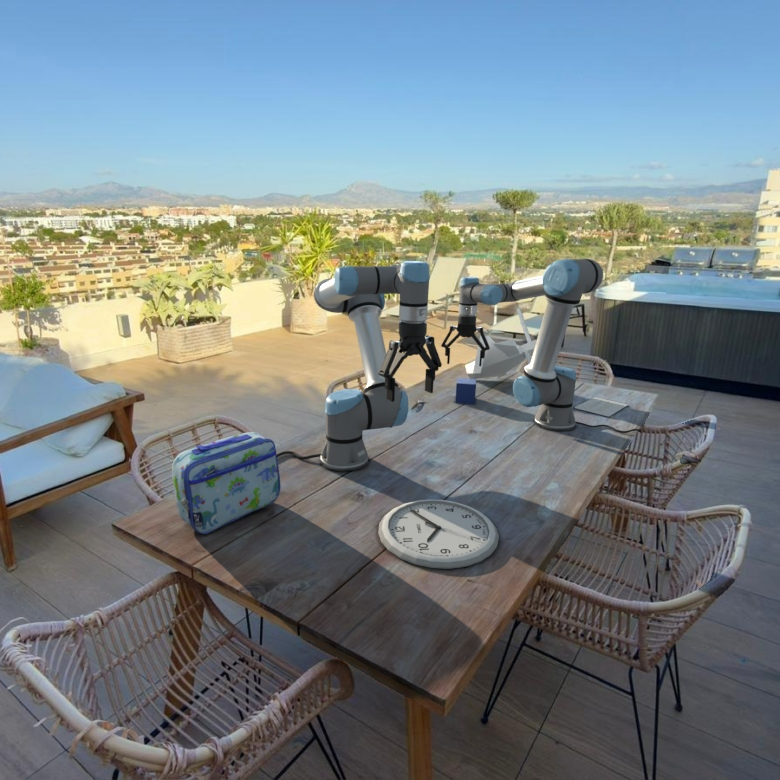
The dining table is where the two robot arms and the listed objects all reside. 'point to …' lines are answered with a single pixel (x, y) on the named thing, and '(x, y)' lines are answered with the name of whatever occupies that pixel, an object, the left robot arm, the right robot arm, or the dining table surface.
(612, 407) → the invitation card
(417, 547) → the wall clock
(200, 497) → the lunch box
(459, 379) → the block
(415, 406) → the fork
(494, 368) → the white plastic object
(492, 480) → the dining table surface
